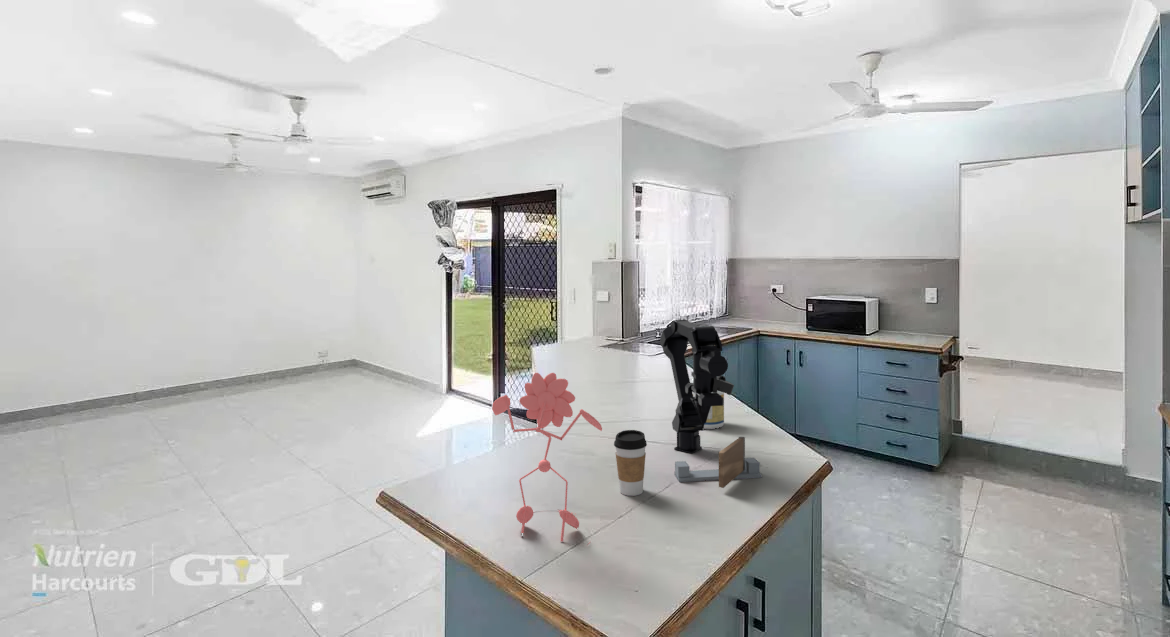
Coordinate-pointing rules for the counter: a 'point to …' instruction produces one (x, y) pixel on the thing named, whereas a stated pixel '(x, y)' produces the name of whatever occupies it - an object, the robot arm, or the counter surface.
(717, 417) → the supplement tub
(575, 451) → the counter surface
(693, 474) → the gate frame
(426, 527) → the counter surface
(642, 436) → the coffee cup
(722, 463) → the gate leaf
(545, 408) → the figurine
